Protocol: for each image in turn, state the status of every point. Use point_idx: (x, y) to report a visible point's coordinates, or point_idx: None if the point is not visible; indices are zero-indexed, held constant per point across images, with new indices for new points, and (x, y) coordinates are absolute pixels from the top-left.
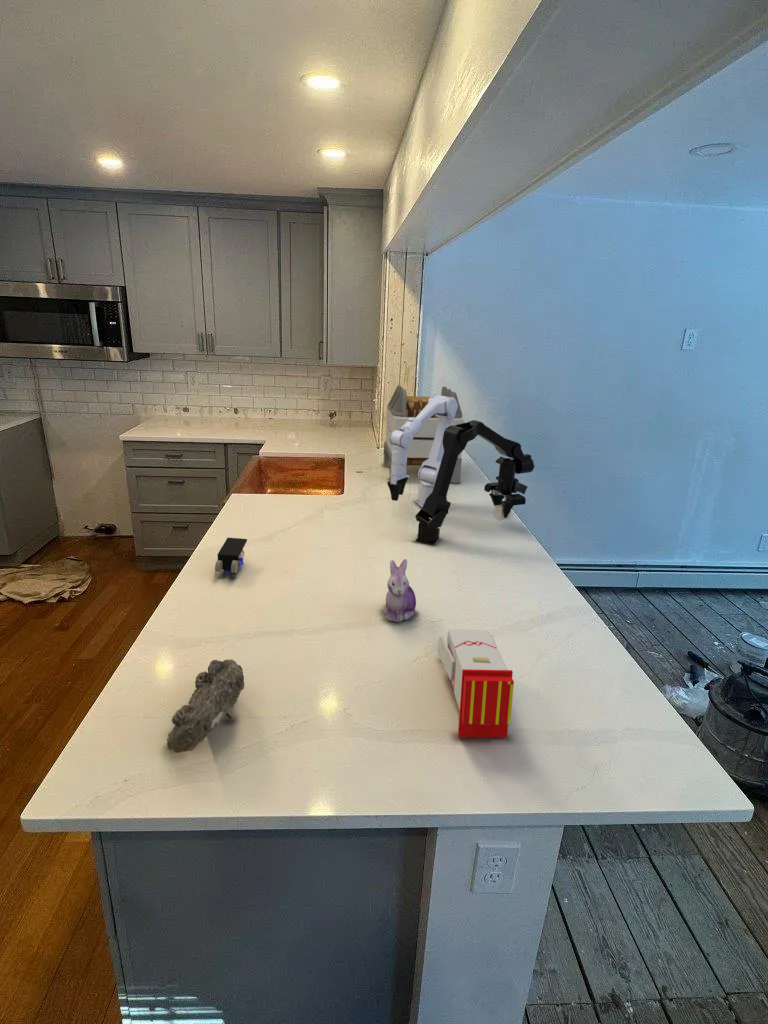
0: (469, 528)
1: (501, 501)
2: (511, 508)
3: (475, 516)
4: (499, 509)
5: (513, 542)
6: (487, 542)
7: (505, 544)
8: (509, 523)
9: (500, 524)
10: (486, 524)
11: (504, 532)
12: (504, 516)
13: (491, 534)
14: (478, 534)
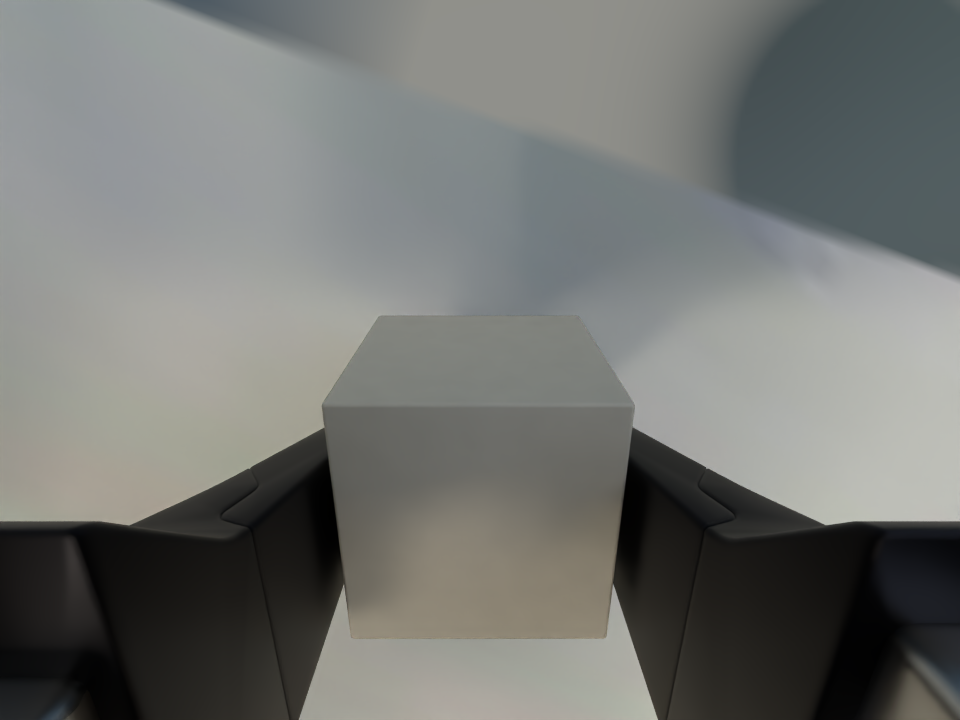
0: (437, 649)
1: (279, 534)
2: (747, 496)
3: (104, 455)
4: (551, 621)
5: (913, 469)
6: None
7: None
8: (403, 169)
9: (410, 314)
10: None
11: (651, 409)
12: None
13: None
14: (593, 646)
